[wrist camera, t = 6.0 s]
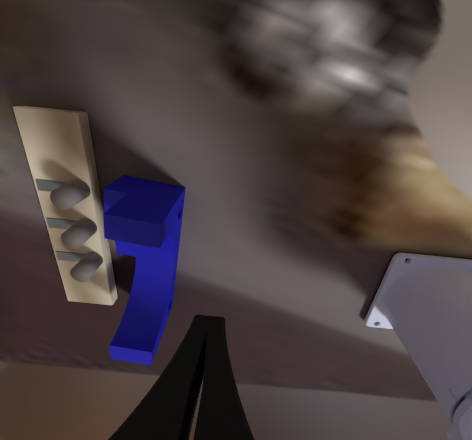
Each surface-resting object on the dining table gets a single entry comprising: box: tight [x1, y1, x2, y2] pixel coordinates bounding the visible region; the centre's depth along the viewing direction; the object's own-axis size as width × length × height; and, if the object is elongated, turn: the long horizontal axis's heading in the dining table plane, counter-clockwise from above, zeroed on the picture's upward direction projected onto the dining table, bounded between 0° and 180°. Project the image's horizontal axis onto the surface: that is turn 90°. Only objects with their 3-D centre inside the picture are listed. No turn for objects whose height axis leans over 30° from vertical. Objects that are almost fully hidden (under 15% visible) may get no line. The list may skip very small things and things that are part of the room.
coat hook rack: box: [13, 106, 117, 305], centre depth 18 cm, size 4×16×3 cm, turn 175°
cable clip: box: [103, 175, 185, 365], centre depth 18 cm, size 12×4×6 cm, turn 169°
